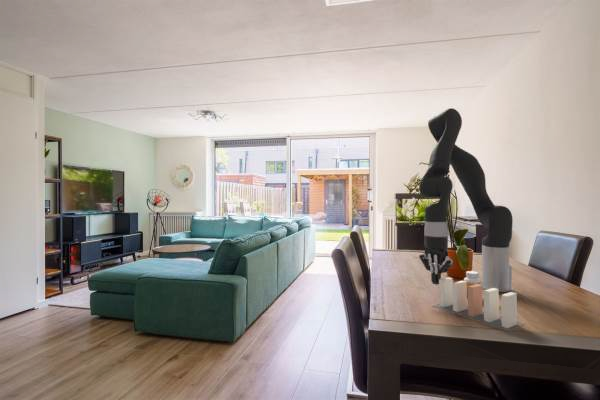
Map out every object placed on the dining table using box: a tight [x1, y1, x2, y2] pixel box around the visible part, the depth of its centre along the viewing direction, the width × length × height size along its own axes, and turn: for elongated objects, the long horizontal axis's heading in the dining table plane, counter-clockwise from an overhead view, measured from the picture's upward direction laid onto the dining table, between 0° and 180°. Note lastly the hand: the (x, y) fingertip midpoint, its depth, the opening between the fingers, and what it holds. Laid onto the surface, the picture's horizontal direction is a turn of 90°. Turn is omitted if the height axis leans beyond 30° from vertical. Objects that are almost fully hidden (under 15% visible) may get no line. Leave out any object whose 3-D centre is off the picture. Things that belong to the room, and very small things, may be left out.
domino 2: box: [453, 280, 468, 312], centre depth 105 cm, size 2×5×9 cm, turn 121°
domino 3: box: [467, 284, 483, 317], centre depth 101 cm, size 2×5×9 cm, turn 121°
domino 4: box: [483, 288, 500, 322], centre depth 96 cm, size 2×5×9 cm, turn 121°
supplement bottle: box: [463, 270, 482, 300], centre depth 116 cm, size 5×5×10 cm
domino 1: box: [438, 276, 454, 307], centre depth 109 cm, size 2×5×9 cm, turn 121°
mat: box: [432, 303, 526, 332], centre depth 101 cm, size 24×9×1 cm, turn 31°
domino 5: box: [501, 291, 518, 328], centre depth 92 cm, size 2×5×9 cm, turn 121°
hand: (436, 283), depth 112 cm, fingers closed
